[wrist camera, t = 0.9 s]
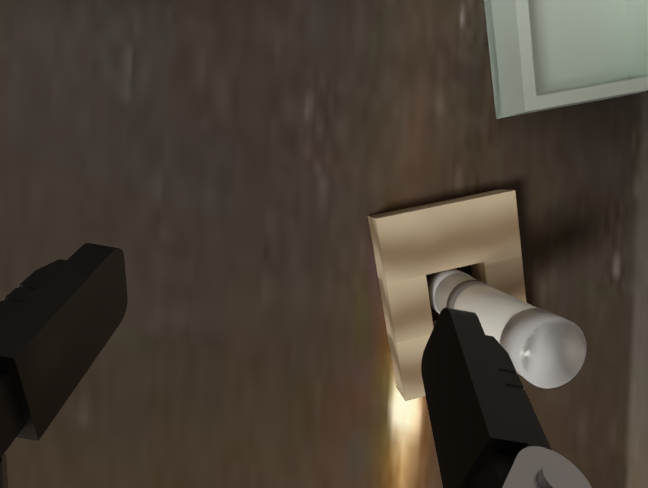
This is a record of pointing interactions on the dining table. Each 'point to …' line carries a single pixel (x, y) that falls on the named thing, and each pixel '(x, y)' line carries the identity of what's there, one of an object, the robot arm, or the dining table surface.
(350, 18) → the dining table surface
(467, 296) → the fuse
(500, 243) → the fuse holder
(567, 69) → the parts tray
